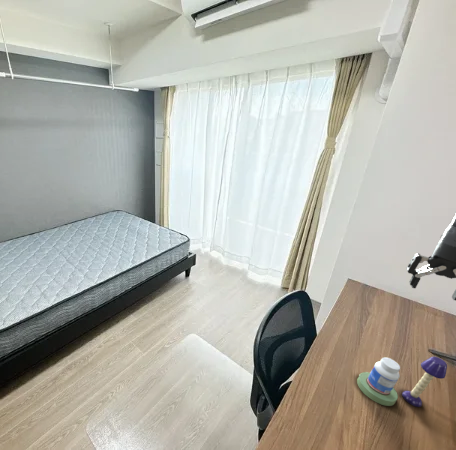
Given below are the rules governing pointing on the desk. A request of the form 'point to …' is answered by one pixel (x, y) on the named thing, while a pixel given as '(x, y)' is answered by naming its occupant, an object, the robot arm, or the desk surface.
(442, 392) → the desk surface
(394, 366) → the pill bottle
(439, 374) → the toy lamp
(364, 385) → the coaster
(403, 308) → the desk surface
